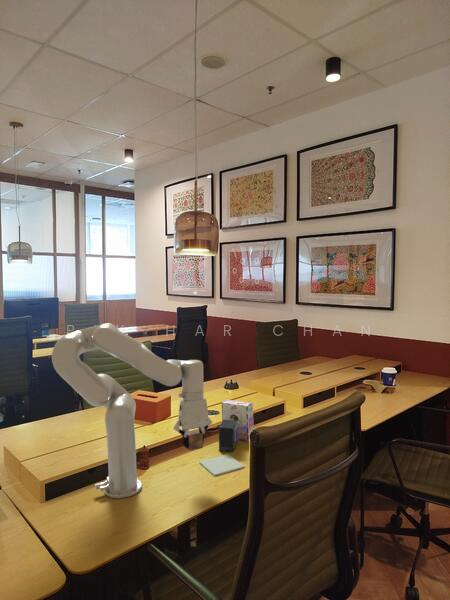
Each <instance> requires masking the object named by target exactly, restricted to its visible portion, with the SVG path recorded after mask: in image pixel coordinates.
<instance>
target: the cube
mask: <svg viewBox="0 0 450 600" xmlns="http://www.w3.org/2000/svg"><path fill="white" fill-rule="evenodd" d="M187 437H188V441H189V447H188V448H186V449H188V451H195V450H199V449H203V446H204V441H203V434H202V433H200V432H199V429H194V430H193V429H192V430H188V434H187Z"/></svg>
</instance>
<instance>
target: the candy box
mask: <svg viewBox="0 0 450 600" xmlns="http://www.w3.org/2000/svg"><path fill="white" fill-rule="evenodd" d="M221 417H222V418H221V419H222V421H223V420H224V419H225V420H237V441H242V442H247V443H249V442H250V441H249V433H250V431H251V430H253V429H254V427H255V425H254V403H253V402H249V401H248V402H247V401H241V400H233V399H226V400H224V401H222V402H221ZM222 421H221V422H222ZM254 430H255V429H254Z"/></svg>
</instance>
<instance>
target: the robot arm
mask: <svg viewBox="0 0 450 600" xmlns="http://www.w3.org/2000/svg"><path fill="white" fill-rule="evenodd" d="M95 350H101V351H102V352H104V353H106V354H108V355H111V356H113V357H114V358H116V359H118V360H120V361H123V362H125V363H127V364H128V365H130V366H131V367H133V368H134V369H136V370H137V371H139V372H140V373H142V375H143V374H144V375H145V376H146V377H148V378H150V379H152V380H153V381H156V382H158V383H160V384H161V385H164V386H167V387H174V386H177V385H178V384H179V383H180V382H181V384H182V387H181V393H179V394H178V398H180V401H179V402H180V403H179V408H178V418H177V420H176V423H175V424H174V426H173V430H174V431H176V432H177V433H179V434H180V435H181V437H182V446H184V448H186V449H187V448H188V447H189V441H188V437H187V434H188V431H190V430H193V429H194V430H196V429H198V431H199V432H200V433H202V434H203V442H205V434H206V431H207V430H208V428H209V427H210V425H212V424H213V421H212V420H211V419H210V417H209V409H208V403H207V398H206V397H205V396H204V363H203V361H202V360H199V359H188V360H181V359H167V360H166V359H164V358H162V357H160V356H158V355H156V354H155V353H154V352H152V351H151V350H150V349H149V348H148V347H147V345H145V344H144V343H143V342H141V341H140V340H138V339H136V338H134V337H132V336H129V335H128V334H126V333H124V332H122V331H120V330H119V328H118V327H117V326H116V325H115V324H113V323H109V322H105V323H102V324H98V325H94V326H91V327H87V328H82V329H77V330H74V331H72V332H69V333H67V334H64V335H63V336H61V337H60V338H59V339H58V340H57V341H56V342H55V344H54V346H53V349H52V353H51V362H52V366H53V368H54V370H55V371H56V373H57V374H58V375H59V376H60V377H61V379H63V380H64V381H65V382H66V383H67V384H68V385H69V386H71V388H72V389H73V390H74V391H75V392H76V393H78V394H79V395H80V396H81V397H82V398H83V399H84V400H85V401H86V402H87V404H89V405H90V406H92V407H95V408H100V407H105V408H106V412H105V416H104V417H105V418H104V426H105V433H106V443H107V444H106V446H107V448H106V449H107V464H108V465H107V467H108V468H107V469H108V476H106V480H103V481H102V482H97V483H95V484H94V490H95V491H96V490H100V492H104V494H105V495H106V497H108V498H112V499H124V498H129V497H132V496H134V495H136V494H138V493H139V492H140V491H141V489H142V487H143V486H142V485H143V484H142V481H141V480H139V479H138V475H137V473H138V472H137V471H138V470H137V450H136V449H137V448H136V430H135V414H136V408H137V405H136V400H135V398H134V397H133V396H132V395H131V394H130V393H129V391H127V390H126V389H125V388H124V387H123V386H122V385H121V384H120V383H119V382H117V380H116V379H115V378H114V377H112V376H111V375H109V374H106V373H96V372H95V371H94V370H93V369H92V368H91V367H90V366H89V365H88V364H86V363H85V362H83V361H82V360H81V358H80V357H81V355H82V354H84V353H88V352H92V351H95ZM180 427H181V428H180Z"/></svg>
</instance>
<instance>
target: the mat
mask: <svg viewBox="0 0 450 600" xmlns="http://www.w3.org/2000/svg"><path fill="white" fill-rule="evenodd" d="M199 464H200V465H201V466H202V467H203V468H204V469H205V470H207V471H208V472H209V473H210V475H212V477H213V476H214V477H217V476H220V475H224V474H227V473H231V472H233V471H239V470H242V469H244V468H245V465H243V463H241V462H239V461H238V460H237V459H235V458H234V457H232V455H230V454H228V453H226V454H222V455H219V456H216V457H212V458H208V459H204V460H200V461H199Z"/></svg>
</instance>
